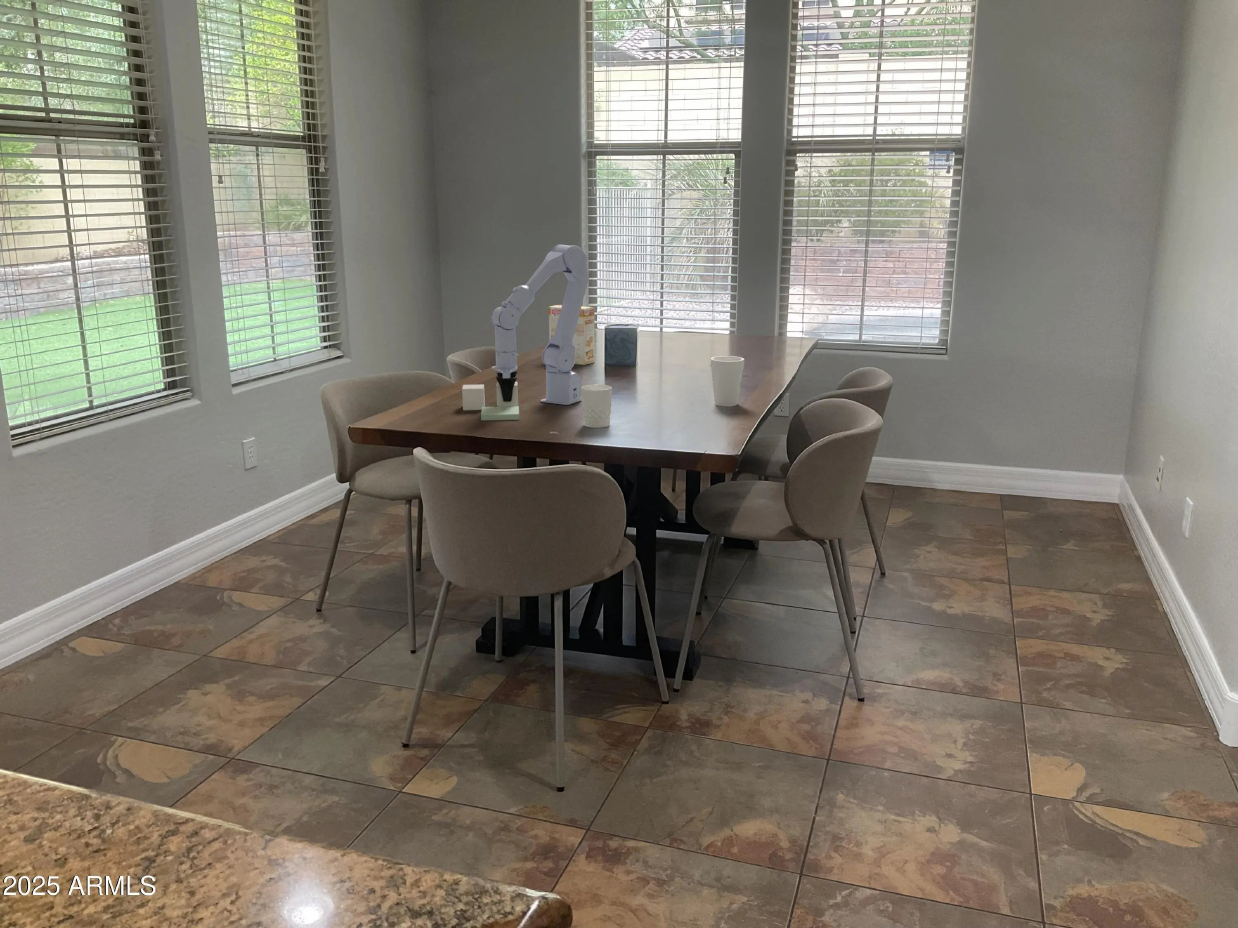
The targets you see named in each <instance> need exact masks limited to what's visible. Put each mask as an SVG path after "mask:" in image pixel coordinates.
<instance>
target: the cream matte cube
mask: <svg viewBox="0 0 1238 928" xmlns="http://www.w3.org/2000/svg"><path fill="white" fill-rule="evenodd" d="M518 385H519V384H518V381H516V382H515V384H514V388H513V394H512V400H511V402H504V401H503V398H502V393H501V388H500V385H499V383H498V381H497V382H496V385H495V386H496V389H495V390H496V407H502V406H519V397H518V396H519V389H518V388H519V387H518Z"/></svg>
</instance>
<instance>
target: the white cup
mask: <svg viewBox="0 0 1238 928" xmlns="http://www.w3.org/2000/svg"><path fill="white" fill-rule="evenodd" d="M612 391H613V387H612V386H611V385H607V384H597V383H595V384H586V385H583V386H580V394H581V399H582V400H581V409H582V416H583V417H582V418H583V426H584V427H587V428H590V429H591V428H592V429H602V428H607V427H609V426H610V425H611V414H612V413H611V412H612V393H613V392H612Z"/></svg>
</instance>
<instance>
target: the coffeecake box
mask: <svg viewBox="0 0 1238 928" xmlns="http://www.w3.org/2000/svg"><path fill="white" fill-rule="evenodd" d="M561 307H562V304H556V305H551V306H548V330H549V333H548V335H549V336H548V337H549V340H550V339H551V338H552V337H553V336H554V334H555V330H556V326H557V323H558V319H559V315H560V311H561ZM549 340H548V341H549ZM573 342H574V345H575V353H574V355H575V364H574V365H580V366H581V365H582V366H585V365H590V364H594V363H595V362H596V360H595V359H596V355H595V354H596V351H595V349H596V348H595V342H596V341H595V306H581V310H580V314H579V318H578V321H577V325H576V329H575V333H574V337H573Z"/></svg>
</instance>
